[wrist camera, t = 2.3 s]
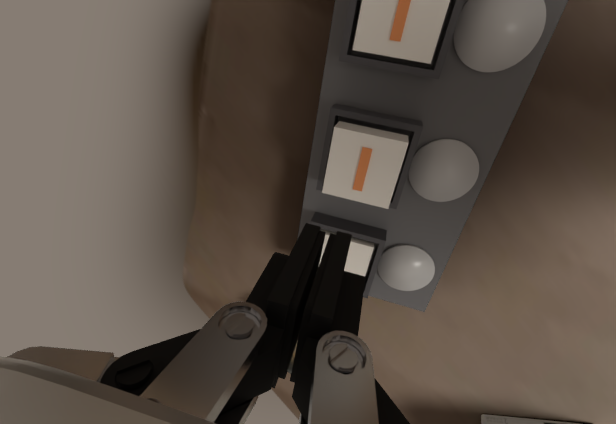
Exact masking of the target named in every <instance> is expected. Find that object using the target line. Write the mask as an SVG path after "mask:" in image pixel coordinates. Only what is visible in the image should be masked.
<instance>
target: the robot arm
mask: <svg viewBox="0 0 616 424" xmlns="http://www.w3.org/2000/svg"><path fill="white" fill-rule="evenodd" d="M325 234H326V232H324V231H321V227H320V226H316V225H313V224H309V223H306V224H305V226H304V228H303V230H302V232H301V234H300V236H299V238H298V240H297V242H296V244H295V246H294V248H293V250H292V252H291V254H290V256H288V255H284V254H281V253H277V252H275V253H274V254H273V256H272V257H271V259H270V261H269V263H268V264H267V266H266V268H265V270H264V271H263V273H262V275H261V276H260V278H259V280H258V282H257V283H256V285H255V287H254V289H253V290H252V292H251V294H250V295H249V297H248V299H247V301H246V302H233V303H229V304H227V305H225V306H223V307H222V308H220V309H219V310H218V311H217V312H216V313H215V314H214V315H213V316H212V317H211V318H210V320H209V321H208V322H207V323H206V324H205V325H204V326H203V327H202V329H199V330H196V331H193V332H190V333H187V334H184V335H181V336H178V337H175V338H172V339H169V340H166V341H163V342H160V343H157V344H154V345H151V346H148V347H145V348H142V349H139V350H136V351H133V352H130V353H128V354H126V355H123V356H121V357H114V354H113V353H110V352H99V351H88V350H87V351H86V350H76V349H65V348H54V347H42V346H40V347H29V348H26V349H23V350H20V351H17V352H15V353H14V354H12V355H10V356H8V357H0V424H244V423H245V421H246V420H247V418H248V416H249V414H250V413H251V411H252V409H253V407H254V405H255V404H256V401H257V398H258V395H260V394H262V393H264V392H267V391H269V390H270V389H271V387H273V388H275V386H276V383H277V380H278V377H280V378H283V379H285V377H286V374H287V371H288V368H289V365H290V362H291V359H292V356H293V353H294V350H295V347H296V344H297V347H296V352H295V357H294V362H293V367H292V372H291V378H290V381H292V382H295V385H294V390H293V395H292V398H293V399H294V401H295V403H296V405H297V407H298V409H299V411H300V412H301V414H300V418H299V424H410V423H409V422H408V421H407V419H406V418H405V417H404V415H403V414H402V413H401V412H400V410H399V409H398V408H397V406H396V405H395V404H394V402H393V401H392V400H391V399H390V397H389V396H388V395H387V393H386V392H385V391H384V390H383V388H382V387H381V386H380V384H379V383H378V382H377V380H376V379H375V378H374V369H373V359H372V355H371V351H370V349H369V348H368V346H367V345H366V343H365V342H364V341H363V340H362V339H361V338H359V337H358V330H359V322H360V315H361V307H362V299H363V291H364V284H365V276H361V275H358V274H354V273H350V272H347V271H344V268H345V264H346V260H347V255H348V251H349V246H350V242H351V238H352V234H348V233H344V232H340V231H337V233H336V235H335V234H331V233H330V235H329V238H328V241H327V244H326V247H325V250H324V253H323V256H322V259H321V262H320V258H321V253H322V248H323V244H324V239H325ZM319 263H320V265H319ZM297 341H298V342H297Z"/></svg>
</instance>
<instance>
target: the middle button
mask: <svg viewBox="0 0 616 424" xmlns="http://www.w3.org/2000/svg"><path fill="white" fill-rule="evenodd" d="M408 144H409V140H408V135H403V134H398V133H393V132H389V131H384V130H379V129H375V128H370V127H365V126H361V125H356V124H351V123H346V122H342V121H339V122H338V123H337V124H336V125H335V127H334V131H333V137H332V142H331V147H330V152H329V158H328V163H327V168H326V174H325V179H324V184H323V190H322V193H325V194H329V195H333V196H337V197H341V198H345V199H349V200H353V201H357V202H361V203H365V204H369V205H374V206H378V207H382V208H386V209H388V208H389V205H390V201H391V198H392V195H393V192H394V189H395V185H396V182H397V179H398V176H399V173H400V169H401V166H402V163H403V160H404V157H405V153H406V150H407V147H408Z"/></svg>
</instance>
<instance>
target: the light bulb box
mask: <svg viewBox="0 0 616 424" xmlns="http://www.w3.org/2000/svg"><path fill="white" fill-rule="evenodd" d="M481 424H581V423H571V422H560V421H550V420H540V419H529V418H518V417H508V416H498V415H487V414H482V415H481Z"/></svg>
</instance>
